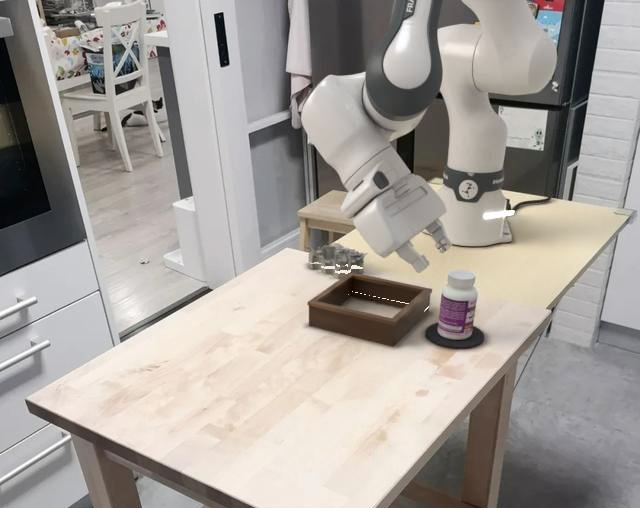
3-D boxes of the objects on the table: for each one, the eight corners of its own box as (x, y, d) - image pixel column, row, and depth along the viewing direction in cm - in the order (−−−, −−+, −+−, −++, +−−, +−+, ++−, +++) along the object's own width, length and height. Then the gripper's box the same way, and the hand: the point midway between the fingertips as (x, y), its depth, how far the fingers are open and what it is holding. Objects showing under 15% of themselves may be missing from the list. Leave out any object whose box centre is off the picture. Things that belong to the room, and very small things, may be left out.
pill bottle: (471, 342, 108) (480, 282, 103) (436, 339, 109) (442, 279, 104) (472, 327, 113) (480, 269, 107) (438, 324, 113) (444, 266, 108)
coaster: (431, 320, 116) (431, 318, 116) (487, 328, 113) (488, 326, 113) (420, 343, 109) (420, 341, 108) (479, 353, 106) (479, 350, 106)
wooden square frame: (349, 294, 124) (350, 271, 122) (430, 312, 118) (432, 288, 116) (307, 326, 113) (307, 301, 111) (393, 347, 107) (395, 322, 105)
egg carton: (302, 266, 136) (302, 245, 133) (331, 257, 140) (331, 236, 138) (340, 281, 129) (341, 259, 127) (370, 272, 133) (371, 250, 131)
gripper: (393, 180, 115) (445, 250, 116) (334, 213, 100) (394, 293, 101) (422, 155, 111) (475, 227, 112) (365, 185, 95) (426, 268, 97)
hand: (436, 259), depth 106 cm, fingers open, 8 cm apart
